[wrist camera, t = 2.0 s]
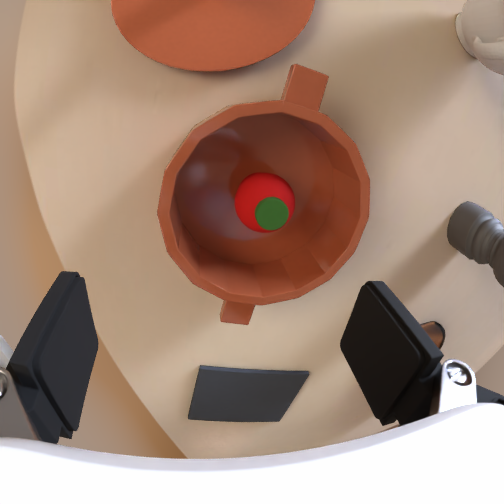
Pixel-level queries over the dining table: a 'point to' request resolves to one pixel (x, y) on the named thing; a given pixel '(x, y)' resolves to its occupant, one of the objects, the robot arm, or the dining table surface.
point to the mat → (244, 394)
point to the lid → (210, 30)
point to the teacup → (483, 32)
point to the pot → (266, 161)
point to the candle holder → (478, 236)
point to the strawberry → (264, 202)
